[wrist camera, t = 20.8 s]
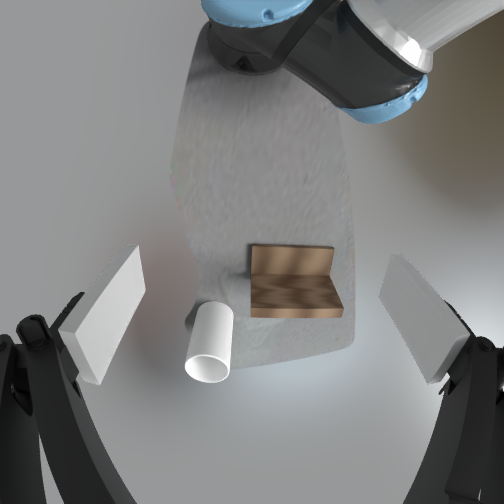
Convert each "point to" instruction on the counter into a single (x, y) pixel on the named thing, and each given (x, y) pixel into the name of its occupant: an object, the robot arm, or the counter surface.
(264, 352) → the counter surface
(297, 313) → the label board
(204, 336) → the cup
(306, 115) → the counter surface
